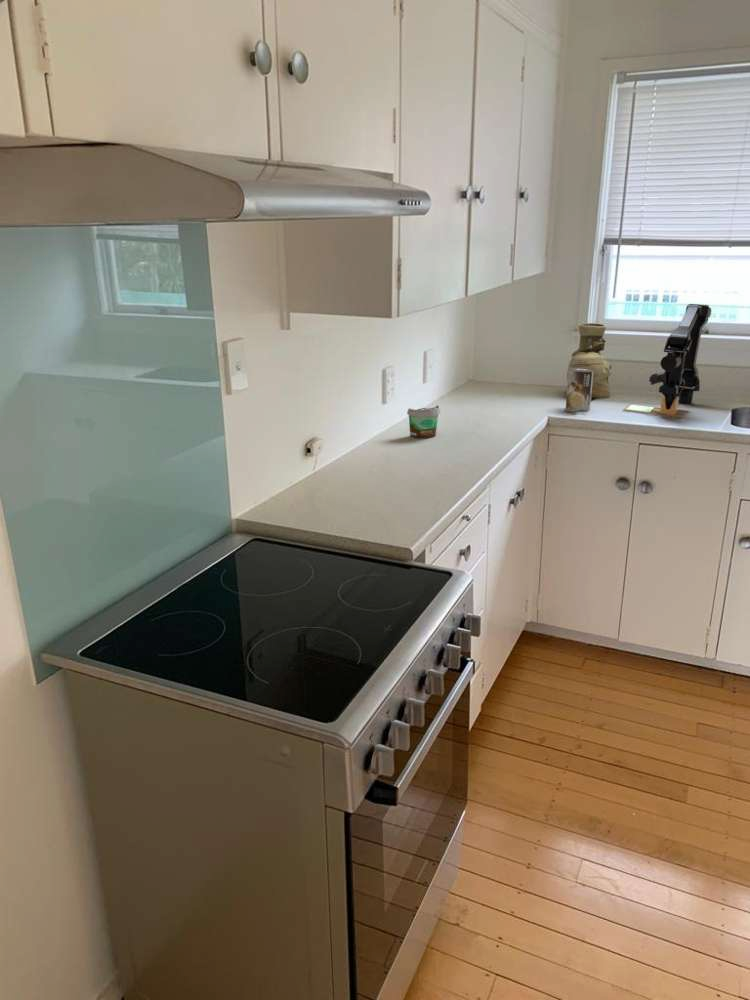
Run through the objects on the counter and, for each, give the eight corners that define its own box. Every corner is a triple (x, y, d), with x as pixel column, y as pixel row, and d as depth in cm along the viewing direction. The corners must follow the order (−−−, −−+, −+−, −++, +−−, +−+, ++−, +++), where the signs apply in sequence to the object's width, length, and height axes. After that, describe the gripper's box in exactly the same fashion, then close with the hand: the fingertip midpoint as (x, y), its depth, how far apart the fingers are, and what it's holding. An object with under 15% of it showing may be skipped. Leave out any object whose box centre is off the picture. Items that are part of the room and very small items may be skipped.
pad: (631, 405, 298) (631, 404, 298) (654, 408, 294) (654, 407, 294) (625, 410, 291) (625, 409, 291) (649, 413, 287) (649, 412, 287)
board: (629, 406, 301) (630, 404, 301) (687, 413, 291) (688, 411, 290) (621, 413, 290) (621, 411, 289) (681, 421, 279) (681, 418, 279)
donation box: (662, 410, 291) (664, 395, 289) (676, 412, 288) (679, 396, 286) (659, 413, 287) (662, 397, 284) (674, 415, 284) (676, 399, 282)
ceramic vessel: (622, 395, 320) (631, 324, 309) (596, 403, 306) (604, 329, 295) (582, 388, 332) (590, 320, 322) (556, 395, 319) (563, 324, 308)
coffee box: (590, 409, 295) (595, 369, 290) (588, 413, 290) (593, 372, 284) (566, 407, 299) (570, 367, 293) (564, 411, 293) (568, 370, 287)
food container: (415, 441, 252) (416, 412, 248) (406, 436, 257) (407, 408, 253) (446, 436, 257) (447, 408, 254) (436, 432, 262) (437, 404, 259)
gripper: (658, 361, 293) (652, 400, 298) (647, 368, 278) (642, 409, 283) (688, 364, 287) (681, 403, 293) (679, 371, 272) (672, 413, 278)
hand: (669, 407), depth 287 cm, fingers closed on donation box, 5 cm apart
